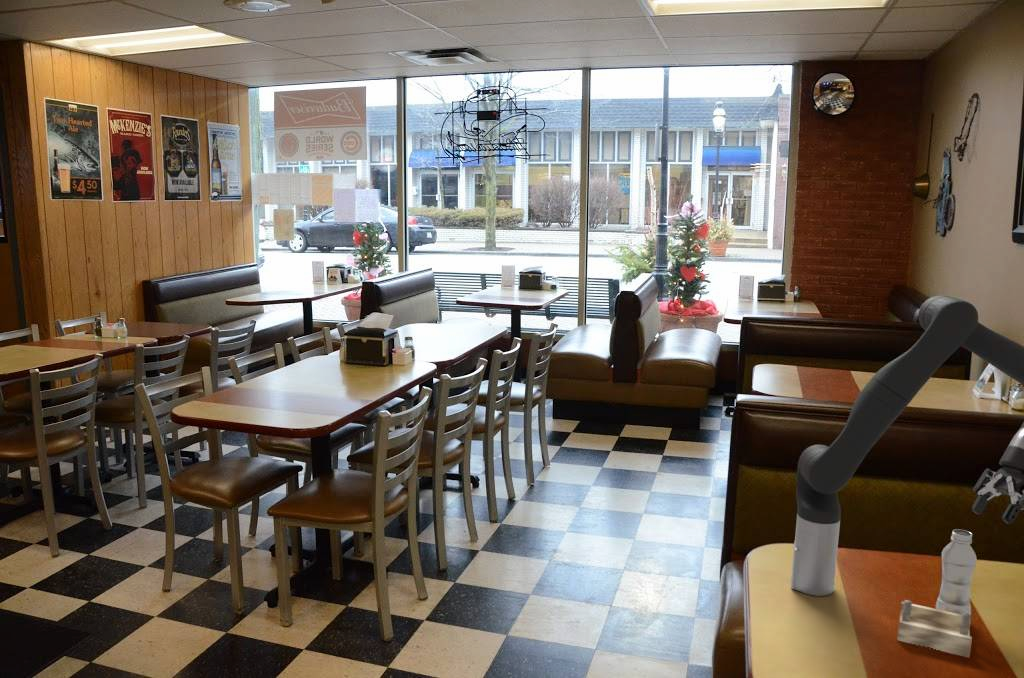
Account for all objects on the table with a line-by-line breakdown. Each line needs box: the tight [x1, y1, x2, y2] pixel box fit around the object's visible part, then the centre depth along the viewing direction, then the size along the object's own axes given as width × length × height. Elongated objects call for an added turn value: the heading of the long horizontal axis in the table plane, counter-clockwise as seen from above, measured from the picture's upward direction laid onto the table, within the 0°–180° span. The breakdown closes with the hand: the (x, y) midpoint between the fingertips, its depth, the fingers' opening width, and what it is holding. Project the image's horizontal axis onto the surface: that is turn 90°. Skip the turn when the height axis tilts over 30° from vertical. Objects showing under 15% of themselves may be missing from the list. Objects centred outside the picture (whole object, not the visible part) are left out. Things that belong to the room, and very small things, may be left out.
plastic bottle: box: [935, 528, 978, 616], centre depth 175 cm, size 6×7×20 cm
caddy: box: [896, 599, 973, 659], centre depth 169 cm, size 13×10×6 cm
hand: (990, 517), depth 178 cm, fingers open, 8 cm apart
